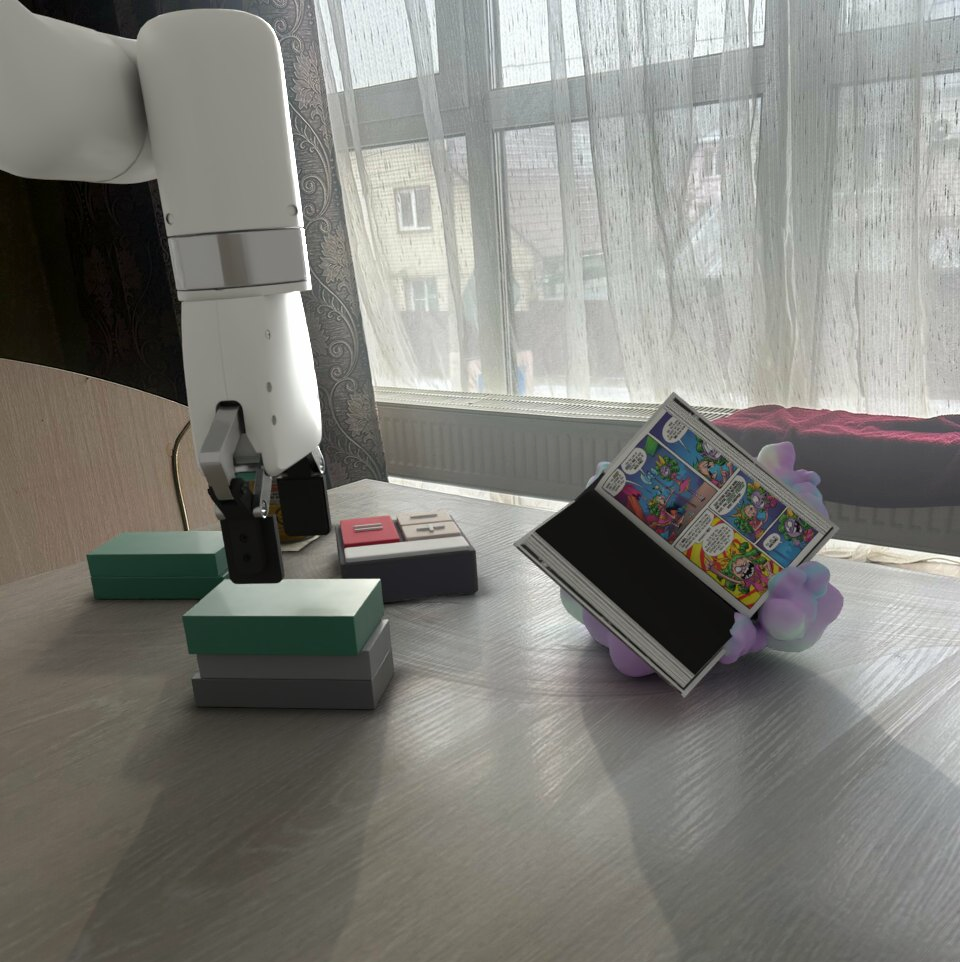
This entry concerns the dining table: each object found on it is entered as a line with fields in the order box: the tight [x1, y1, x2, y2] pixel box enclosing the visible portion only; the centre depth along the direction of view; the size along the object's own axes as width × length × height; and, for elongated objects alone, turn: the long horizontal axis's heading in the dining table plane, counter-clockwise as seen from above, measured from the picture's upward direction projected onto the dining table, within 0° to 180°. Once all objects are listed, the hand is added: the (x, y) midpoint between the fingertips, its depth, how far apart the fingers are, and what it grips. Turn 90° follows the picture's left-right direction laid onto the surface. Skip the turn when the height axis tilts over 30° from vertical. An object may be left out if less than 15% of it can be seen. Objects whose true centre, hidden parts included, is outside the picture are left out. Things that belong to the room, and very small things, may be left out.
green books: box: [85, 530, 230, 600], centre depth 88 cm, size 12×7×4 cm, turn 82°
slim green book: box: [181, 578, 385, 656], centre depth 65 cm, size 11×7×3 cm, turn 82°
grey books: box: [190, 618, 395, 710], centre depth 66 cm, size 12×6×4 cm, turn 82°
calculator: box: [334, 509, 479, 603], centre depth 88 cm, size 11×4×15 cm
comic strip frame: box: [512, 391, 845, 698], centre depth 67 cm, size 20×22×18 cm
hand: (285, 556), depth 63 cm, fingers open, 9 cm apart
